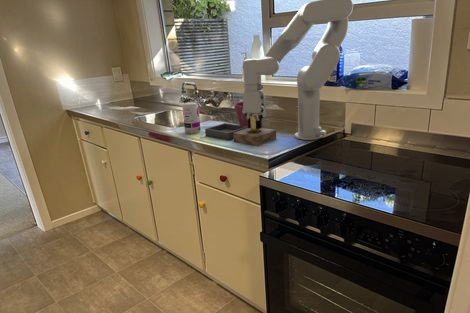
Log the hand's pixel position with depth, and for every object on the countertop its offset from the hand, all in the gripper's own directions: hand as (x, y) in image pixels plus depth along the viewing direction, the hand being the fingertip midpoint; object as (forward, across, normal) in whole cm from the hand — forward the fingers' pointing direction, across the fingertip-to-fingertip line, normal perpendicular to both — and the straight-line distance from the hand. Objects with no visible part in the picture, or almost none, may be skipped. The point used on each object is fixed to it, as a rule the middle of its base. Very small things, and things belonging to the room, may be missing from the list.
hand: (255, 127), depth 159 cm
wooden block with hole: (+6, 0, 0) cm, 6 cm away
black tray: (+6, +18, 0) cm, 19 cm away
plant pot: (+6, +18, -17) cm, 25 cm away
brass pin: (+5, 0, 0) cm, 5 cm away
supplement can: (+6, +38, +5) cm, 39 cm away
